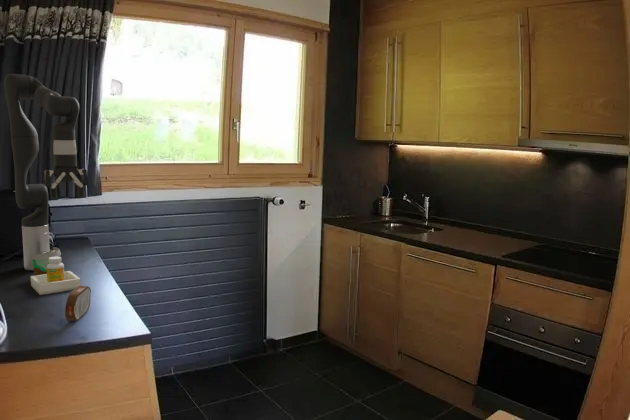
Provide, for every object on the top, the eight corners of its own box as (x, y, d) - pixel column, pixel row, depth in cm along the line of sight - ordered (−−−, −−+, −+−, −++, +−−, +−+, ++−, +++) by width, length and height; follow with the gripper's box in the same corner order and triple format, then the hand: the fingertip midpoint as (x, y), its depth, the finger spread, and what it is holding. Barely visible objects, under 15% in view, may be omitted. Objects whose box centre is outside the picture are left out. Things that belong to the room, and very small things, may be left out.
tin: (82, 308, 167) (81, 281, 166) (93, 308, 167) (92, 281, 166) (64, 325, 152) (63, 296, 151) (75, 325, 152) (74, 296, 151)
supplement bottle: (47, 287, 184) (46, 260, 183) (47, 283, 189) (46, 256, 187) (64, 286, 186) (63, 258, 185) (64, 282, 191) (63, 255, 190)
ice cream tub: (47, 282, 194) (45, 254, 192) (32, 280, 195) (30, 253, 194) (69, 273, 206) (68, 247, 204) (54, 272, 207) (53, 246, 206)
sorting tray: (31, 285, 189) (30, 276, 188) (70, 280, 197) (69, 270, 196) (39, 295, 179) (39, 284, 178) (80, 288, 187) (80, 278, 186)
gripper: (82, 152, 199) (84, 196, 201) (40, 152, 190) (43, 198, 192) (89, 153, 193) (90, 198, 195) (45, 153, 184) (48, 200, 186)
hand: (67, 198), depth 194 cm, fingers open, 8 cm apart
